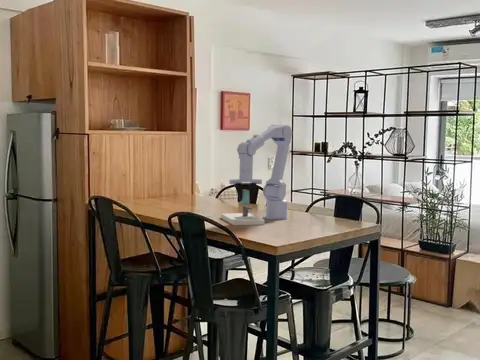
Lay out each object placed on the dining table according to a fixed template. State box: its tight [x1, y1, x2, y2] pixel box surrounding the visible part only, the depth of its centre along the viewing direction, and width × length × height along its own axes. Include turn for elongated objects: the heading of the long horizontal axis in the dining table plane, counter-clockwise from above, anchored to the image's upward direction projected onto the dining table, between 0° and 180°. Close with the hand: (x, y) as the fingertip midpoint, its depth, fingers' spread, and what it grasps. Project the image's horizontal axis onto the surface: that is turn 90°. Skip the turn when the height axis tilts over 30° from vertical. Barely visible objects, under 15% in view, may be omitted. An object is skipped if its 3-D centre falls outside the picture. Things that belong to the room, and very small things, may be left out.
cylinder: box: [239, 189, 251, 205], centre depth 240 cm, size 4×4×6 cm
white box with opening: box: [220, 205, 265, 226], centre depth 244 cm, size 14×20×6 cm
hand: (245, 200), depth 240 cm, fingers closed on cylinder, 4 cm apart
